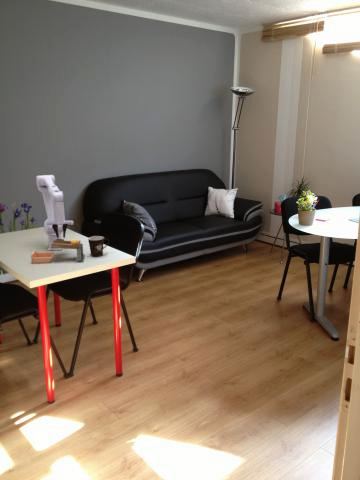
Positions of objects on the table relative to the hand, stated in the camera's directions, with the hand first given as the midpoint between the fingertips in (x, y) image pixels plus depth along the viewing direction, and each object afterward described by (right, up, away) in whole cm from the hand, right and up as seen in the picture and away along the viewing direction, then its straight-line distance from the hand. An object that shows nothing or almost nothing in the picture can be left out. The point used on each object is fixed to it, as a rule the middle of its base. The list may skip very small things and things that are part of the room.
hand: (61, 237), depth 244 cm
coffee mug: (+21, -10, +3) cm, 24 cm away
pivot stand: (+12, -12, -4) cm, 17 cm away
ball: (+9, -3, -7) cm, 12 cm away
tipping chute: (+4, -4, -3) cm, 7 cm away
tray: (-8, -13, -6) cm, 16 cm away
